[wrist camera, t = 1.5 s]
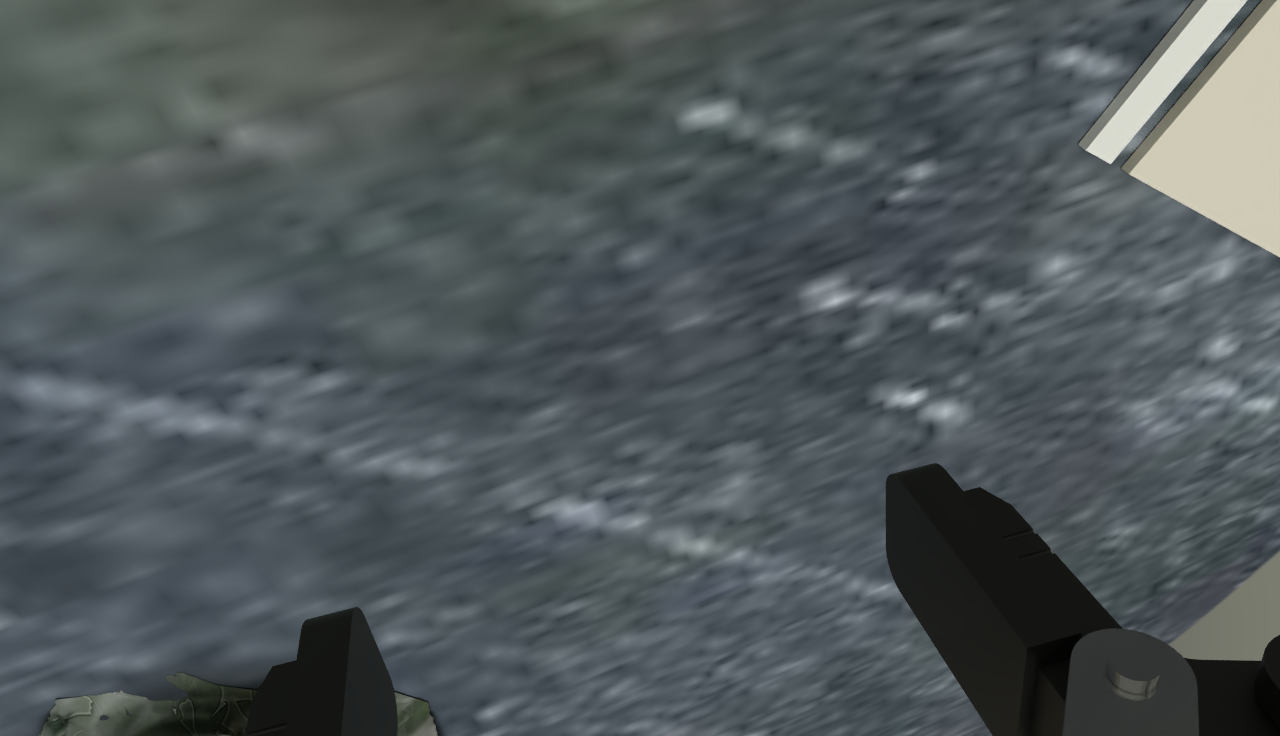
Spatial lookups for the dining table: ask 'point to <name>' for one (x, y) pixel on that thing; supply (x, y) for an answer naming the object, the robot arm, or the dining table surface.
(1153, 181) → the mat
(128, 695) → the rose bouquet
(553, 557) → the dining table surface
